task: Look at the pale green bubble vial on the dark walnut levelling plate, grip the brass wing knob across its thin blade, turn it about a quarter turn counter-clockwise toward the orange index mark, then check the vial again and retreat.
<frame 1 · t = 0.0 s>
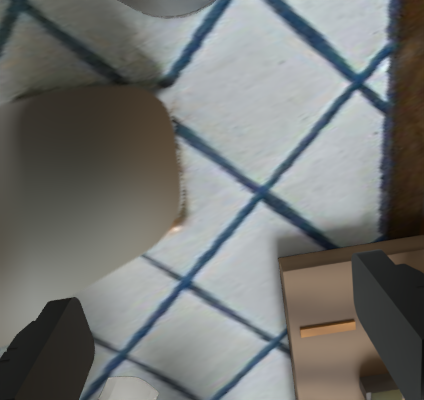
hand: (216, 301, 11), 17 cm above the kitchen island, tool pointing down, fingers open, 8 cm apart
tribrach plate: (379, 347, 34), on the kitchen island
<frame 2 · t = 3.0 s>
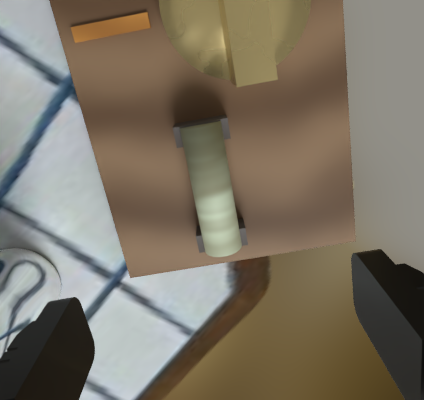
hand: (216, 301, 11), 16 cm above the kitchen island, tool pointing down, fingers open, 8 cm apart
beer glass: (23, 281, 30), on the kitchen island
tribrach plate: (213, 98, 25), on the kitchen island
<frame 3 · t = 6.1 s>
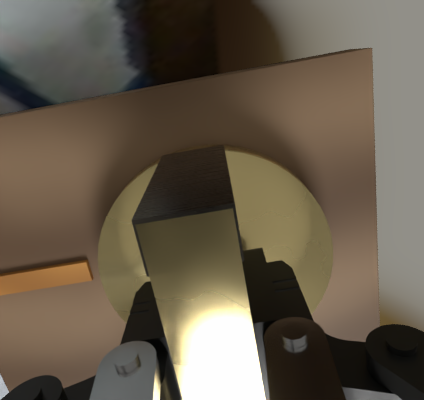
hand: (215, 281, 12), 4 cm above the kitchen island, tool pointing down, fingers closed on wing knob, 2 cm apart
wing knob: (217, 299, 11), point 5 cm above the kitchen island, hinge at 0.0°, touching gripper
tribrach plate: (190, 328, 18), on the kitchen island
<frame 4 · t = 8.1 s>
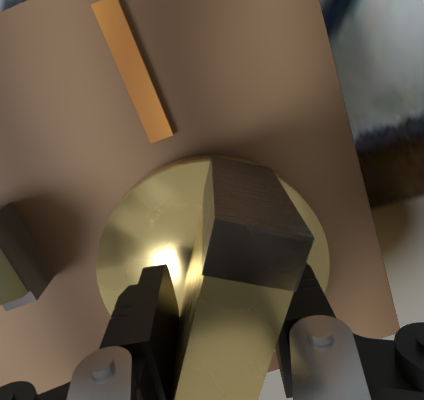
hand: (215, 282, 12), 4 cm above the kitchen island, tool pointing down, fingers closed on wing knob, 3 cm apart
wing knob: (214, 310, 11), point 5 cm above the kitchen island, hinge at 57.3°, touching gripper
tribrach plate: (84, 232, 16), on the kitchen island
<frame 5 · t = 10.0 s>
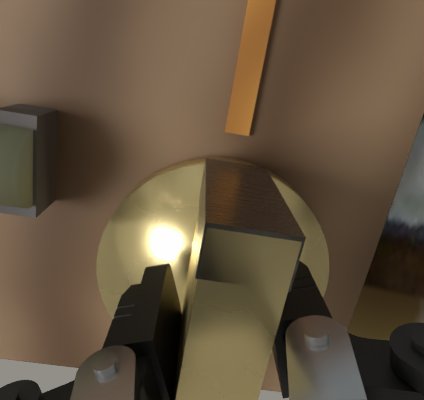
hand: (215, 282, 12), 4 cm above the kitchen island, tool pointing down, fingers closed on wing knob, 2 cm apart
wing knob: (214, 311, 11), point 5 cm above the kitchen island, hinge at 89.7°, touching gripper
tribrach plate: (97, 173, 15), on the kitchen island
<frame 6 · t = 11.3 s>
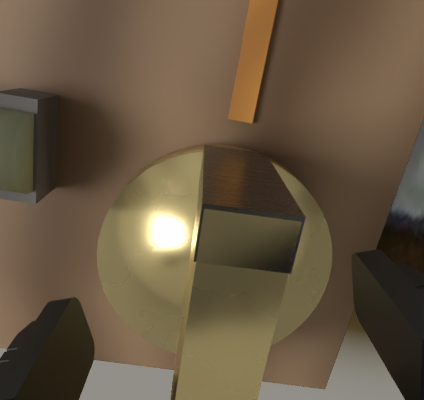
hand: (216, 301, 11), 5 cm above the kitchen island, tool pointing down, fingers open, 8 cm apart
wing knob: (216, 299, 11), point 5 cm above the kitchen island, hinge at 91.5°
tribrach plate: (97, 161, 15), on the kitchen island
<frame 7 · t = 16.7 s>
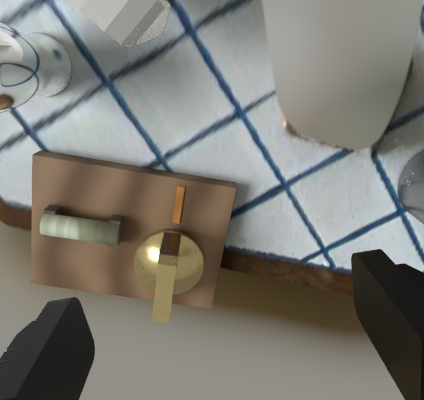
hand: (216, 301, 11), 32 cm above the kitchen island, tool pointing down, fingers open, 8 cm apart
beer glass: (42, 65, 39), on the kitchen island
wing knob: (167, 273, 41), point 5 cm above the kitchen island, hinge at 91.5°
tribrach plate: (132, 230, 45), on the kitchen island
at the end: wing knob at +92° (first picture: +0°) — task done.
